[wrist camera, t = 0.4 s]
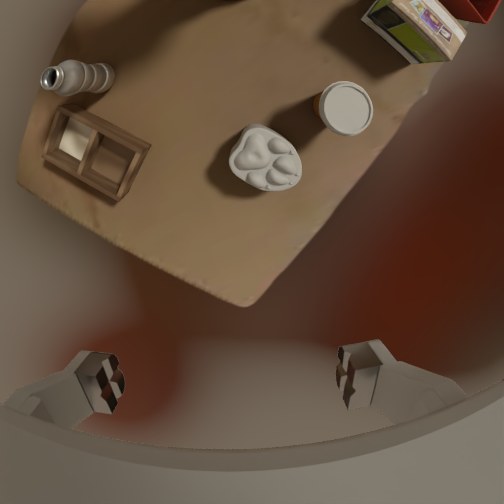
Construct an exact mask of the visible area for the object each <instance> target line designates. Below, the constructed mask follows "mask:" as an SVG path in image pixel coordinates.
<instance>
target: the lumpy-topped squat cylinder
mask: <svg viewBox="0 0 504 504" xmlns="http://www.w3.org/2000/svg"><path fill="white" fill-rule="evenodd" d="M229 166H230V168H231V170H232V172H233V173H234V174H235V175H236V176H237V177H239V178H240V179H242V180H243V181H245V182H246V183H248V184H250V185H252V186H254V187H256V188H258V189H260V190H264V191H282V190H286V189H289V188H291V187H293V186H295V185H296V184H297V183H298V181H299V180H300V178H301V174H302V165H301V160H300V158H299V156H298V153H297V151H296V150H295V148H294V147H293V145H292V144H291V143H290V142H289V141H288V140H287V139H286V138H284V137H283V136H282V135H280V134H279V133H277V132H276V131H274V130H272V129H270V128H268V127H266V126H264V125H261V124H251V125H248V126H246V127H245V128H244V130H243V132H242V134H241V136H240V138H239V140H238V142H237V143H236V144H235V145H234V146H233V148H232V149H231V152H230V157H229Z"/></svg>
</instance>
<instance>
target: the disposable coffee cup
mask: <svg viewBox="0 0 504 504" xmlns="http://www.w3.org/2000/svg"><path fill="white" fill-rule="evenodd" d="M313 108H314V111H315V113H316V115H317V116H318V117H319V118H321V119H322V120H323V122H324V124H325V125H326V126H327V127H328V128H329V129H330V130H331V131H333V132H335V133H337V134H339V135H343V136H352V135H356V134H358V133H360V132H362V131H363V130H364V129H365V128H366V127H367V126H368V125H369V123H370V122H371V119H372V116H373V105H372V102H371V99H370V97H369V96H368V94H367V93H366V92H365V90H364V89H363V88H361V87H360V86H359V85H357V84H355V83H352V82H348V81H340V82H336V83H333V84H331V85H330V86H328V87H327V88H326V89H325V90H324V91H322V92H320V93H319V94H317V95H316V97H315V98H314V101H313Z"/></svg>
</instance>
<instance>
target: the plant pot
mask: <svg viewBox="0 0 504 504" xmlns="http://www.w3.org/2000/svg"><path fill="white" fill-rule="evenodd" d="M438 1H439V2H440V3H441V4H442V5H443V6H444V7H445V8H446V9H447V10H448V11H449V13H450V14H451V15H452V16H453V17H454V18H455V19H460V20H464V21H469V22H475V23H482V24H488V23H489V22H490V20H491V18H492V16H493V15H494V13H495V11H496V9H497V7H498V5H499V4H500V2H501V0H438Z"/></svg>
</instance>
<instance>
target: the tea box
mask: <svg viewBox="0 0 504 504" xmlns="http://www.w3.org/2000/svg"><path fill="white" fill-rule="evenodd" d="M361 20H362V21H363V22H364V23H366V24H367V25H368V26H369V27H371V28H372V29H373V30H374V31H376V32H377V33H378V34H379V35H380V36H382V37H383V38H384V39H385V40H386V41H387V42H388V43H390V44H391V45H392V46H393V47H394V48H395V49H396V50H397V51H398V52H399V53H400V54H402V55H403V56H404V57H405V58H406V59H407V60H408V61H409V62H410V63H411V64H420V63H431V62H445V61H451V60H452V58H453V57H454V55H455V53H456V51H457V50H458V48H459V46H460V45H461V43H462V41H463V39H464V38H465V36H466V34H467V32H466V31H465V30H464V28H463V27H462V26H461V25H460V24H459V23H458V21H457V20H456V19H455V18H454V17H453V16H452V15H451V14H450V13H449V11H448V10H447V9H446V8H445V7H444V6H443V5H442V4H441V3H440V2H439V1H438V0H376V1H375V2H374V3H373V5H372V6H371V7H370V8H369V10H368V11H367V12H366V13H365V14H364V16H363V17H362V18H361Z"/></svg>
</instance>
